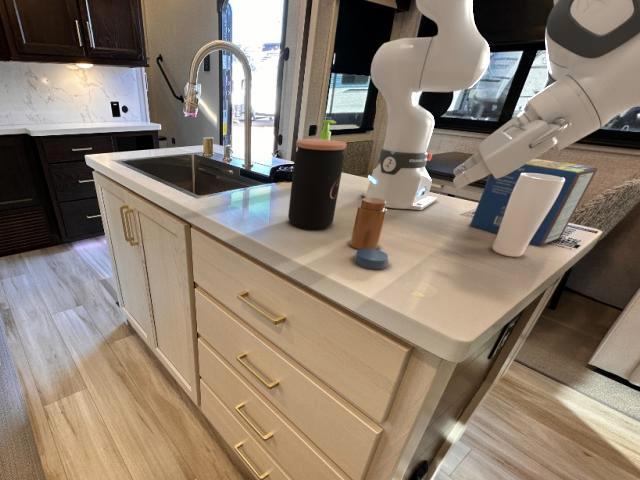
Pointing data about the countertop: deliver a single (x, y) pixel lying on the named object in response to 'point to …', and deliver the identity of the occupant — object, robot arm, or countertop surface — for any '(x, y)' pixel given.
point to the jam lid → (371, 258)
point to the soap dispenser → (326, 130)
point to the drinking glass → (526, 211)
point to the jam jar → (368, 223)
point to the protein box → (559, 214)
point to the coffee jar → (315, 183)
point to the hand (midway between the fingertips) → (454, 179)
